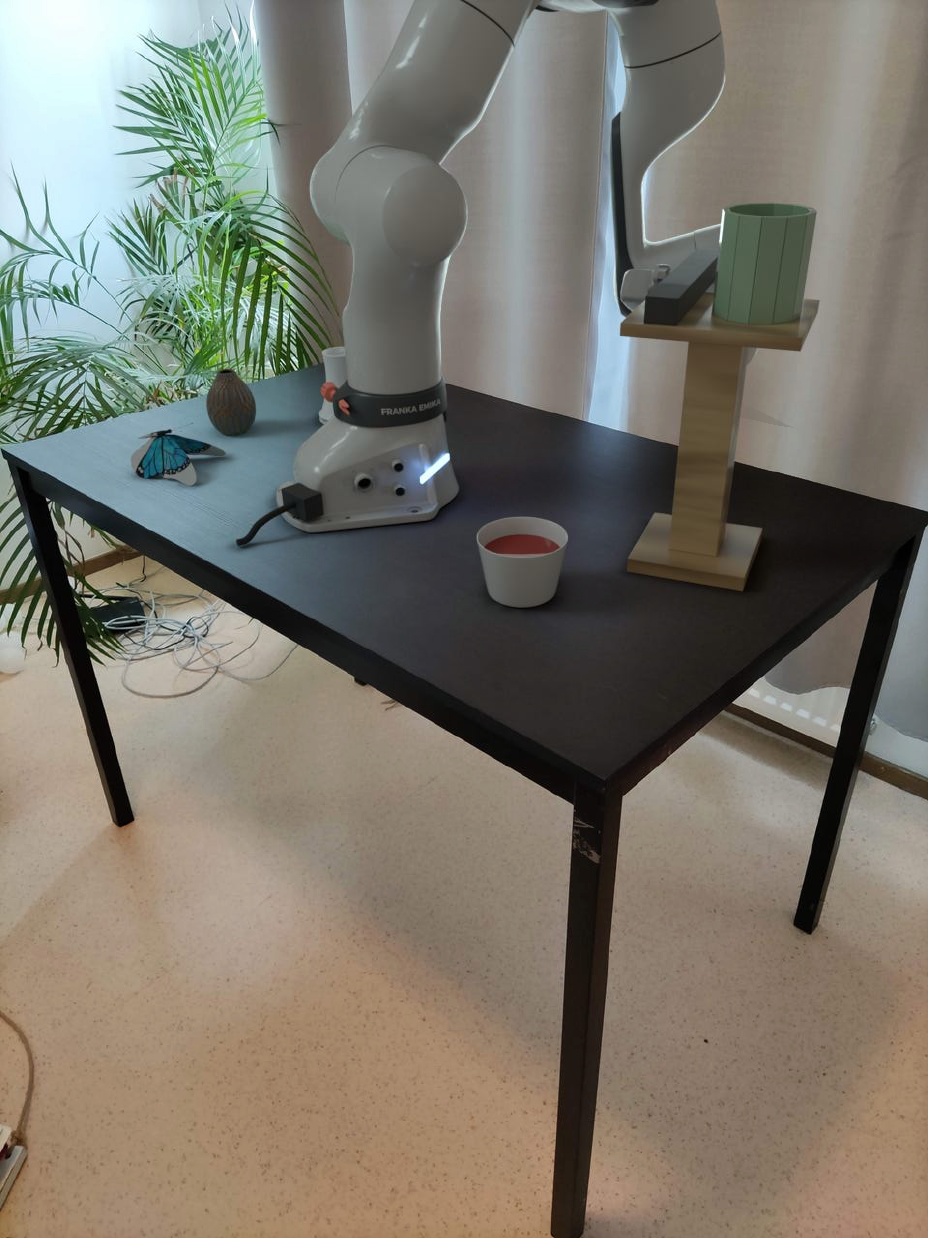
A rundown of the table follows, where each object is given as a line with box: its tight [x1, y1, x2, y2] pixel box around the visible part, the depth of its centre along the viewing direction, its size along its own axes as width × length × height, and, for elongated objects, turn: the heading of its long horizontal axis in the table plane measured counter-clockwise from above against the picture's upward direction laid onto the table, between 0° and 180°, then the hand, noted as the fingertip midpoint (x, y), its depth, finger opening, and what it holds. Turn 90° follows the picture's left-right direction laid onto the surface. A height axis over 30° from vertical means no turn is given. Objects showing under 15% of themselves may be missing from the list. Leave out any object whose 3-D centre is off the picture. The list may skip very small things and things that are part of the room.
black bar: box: [644, 250, 718, 326], centre depth 96 cm, size 22×3×2 cm, turn 157°
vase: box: [205, 368, 257, 436], centre depth 139 cm, size 7×7×9 cm
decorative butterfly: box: [130, 422, 227, 487], centre depth 129 cm, size 10×6×10 cm
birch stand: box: [619, 292, 821, 592], centre depth 98 cm, size 14×16×26 cm
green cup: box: [712, 202, 818, 324], centre depth 88 cm, size 8×8×9 cm
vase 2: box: [318, 346, 347, 425], centre depth 142 cm, size 8×8×10 cm
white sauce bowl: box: [476, 516, 569, 609], centre depth 98 cm, size 9×9×6 cm
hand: (703, 274), depth 104 cm, fingers open, 8 cm apart
